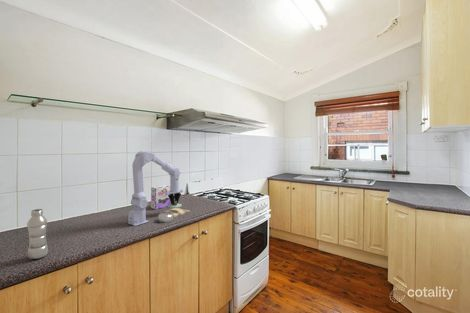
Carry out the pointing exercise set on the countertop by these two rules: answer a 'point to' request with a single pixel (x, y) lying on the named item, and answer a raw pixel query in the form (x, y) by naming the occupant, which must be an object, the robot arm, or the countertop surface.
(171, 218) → the tin
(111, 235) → the countertop surface
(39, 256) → the plastic bottle
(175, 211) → the board
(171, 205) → the lid
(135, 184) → the robot arm
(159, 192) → the candy box
